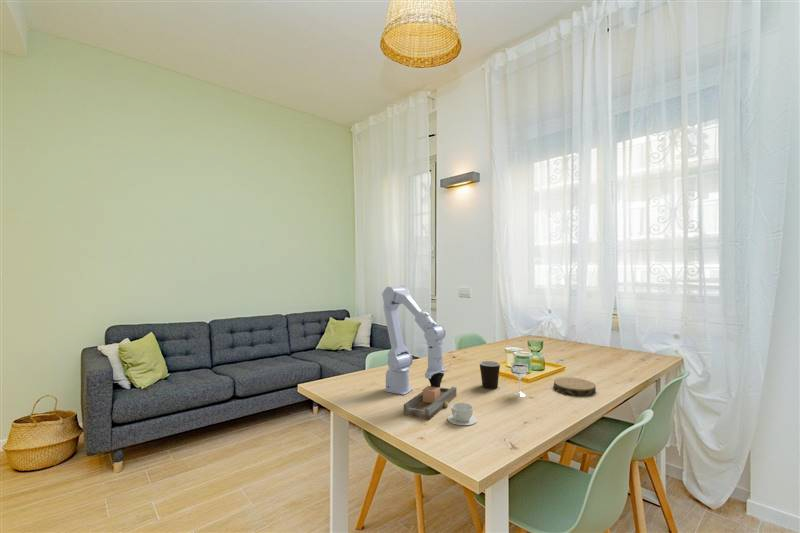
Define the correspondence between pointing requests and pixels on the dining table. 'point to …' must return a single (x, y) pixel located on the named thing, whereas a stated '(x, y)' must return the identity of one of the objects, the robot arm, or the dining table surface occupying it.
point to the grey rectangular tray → (429, 404)
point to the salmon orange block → (431, 394)
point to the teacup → (462, 414)
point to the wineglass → (519, 374)
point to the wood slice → (574, 386)
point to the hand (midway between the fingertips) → (435, 392)
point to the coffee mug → (489, 374)
